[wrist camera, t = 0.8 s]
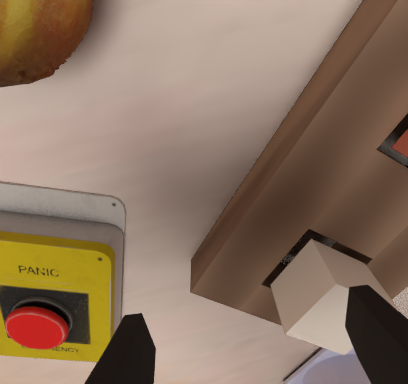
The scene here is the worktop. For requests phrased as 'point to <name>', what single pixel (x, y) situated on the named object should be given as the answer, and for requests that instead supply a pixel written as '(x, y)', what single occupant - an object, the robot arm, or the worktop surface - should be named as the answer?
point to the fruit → (39, 37)
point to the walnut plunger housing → (323, 173)
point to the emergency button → (59, 272)
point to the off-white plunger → (320, 295)
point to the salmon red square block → (402, 144)
